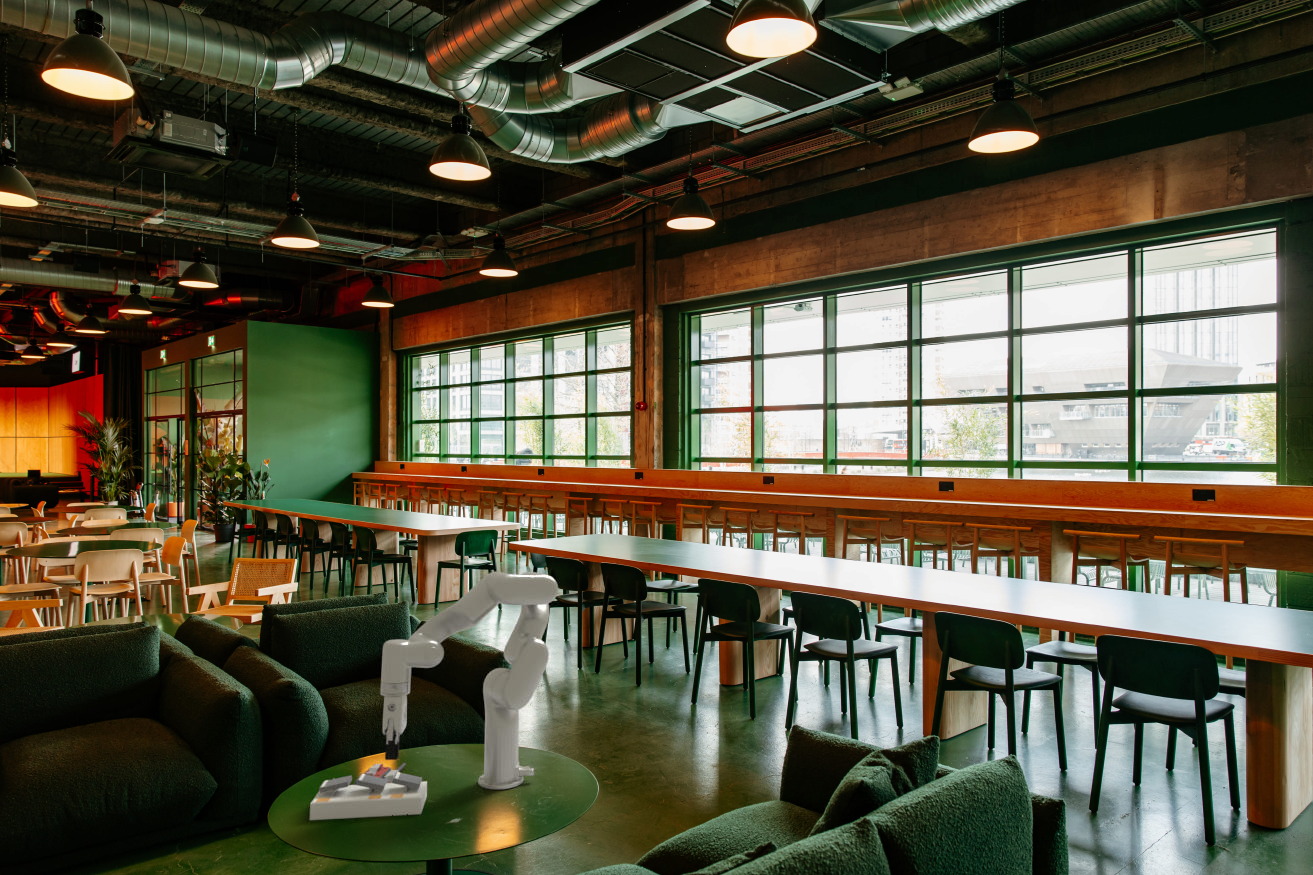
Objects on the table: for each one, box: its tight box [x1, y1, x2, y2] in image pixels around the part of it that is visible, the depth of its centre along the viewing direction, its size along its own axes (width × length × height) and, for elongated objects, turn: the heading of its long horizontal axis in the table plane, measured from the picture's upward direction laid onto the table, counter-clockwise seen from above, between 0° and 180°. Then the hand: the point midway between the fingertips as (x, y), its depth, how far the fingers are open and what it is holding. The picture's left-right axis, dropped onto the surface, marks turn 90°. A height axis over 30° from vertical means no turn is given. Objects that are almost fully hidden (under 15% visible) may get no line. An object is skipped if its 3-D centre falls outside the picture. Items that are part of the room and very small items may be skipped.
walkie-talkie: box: [354, 762, 407, 785], centre depth 230 cm, size 9×4×20 cm
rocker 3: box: [391, 771, 423, 789], centre depth 212 cm, size 7×5×1 cm
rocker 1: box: [318, 775, 353, 793], centre depth 209 cm, size 7×5×1 cm
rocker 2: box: [356, 773, 387, 791], centre depth 211 cm, size 7×5×1 cm
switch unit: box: [309, 780, 428, 821], centre depth 210 cm, size 27×12×5 cm, turn 99°
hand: (391, 758), depth 212 cm, fingers closed
